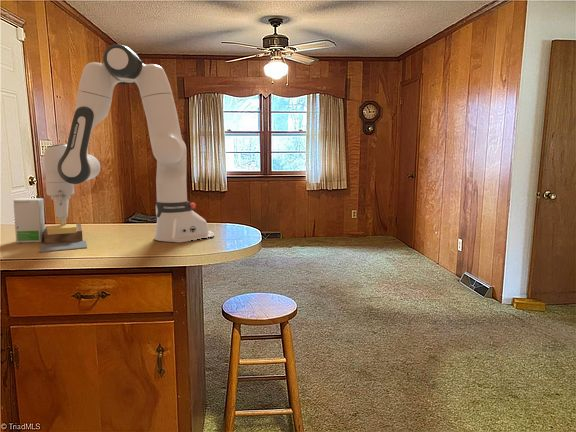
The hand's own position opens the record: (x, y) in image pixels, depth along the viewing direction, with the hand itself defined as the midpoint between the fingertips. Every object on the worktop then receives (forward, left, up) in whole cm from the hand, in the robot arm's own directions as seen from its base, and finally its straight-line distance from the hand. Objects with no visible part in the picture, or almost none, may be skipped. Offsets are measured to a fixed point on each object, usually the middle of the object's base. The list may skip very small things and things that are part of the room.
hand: (63, 227), depth 151 cm
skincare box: (+11, -5, -5) cm, 13 cm away
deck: (0, -3, -5) cm, 6 cm away
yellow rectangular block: (0, +4, -1) cm, 5 cm away
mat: (0, +11, -5) cm, 12 cm away
